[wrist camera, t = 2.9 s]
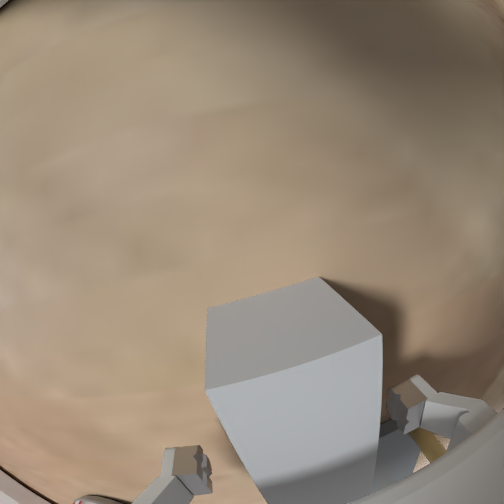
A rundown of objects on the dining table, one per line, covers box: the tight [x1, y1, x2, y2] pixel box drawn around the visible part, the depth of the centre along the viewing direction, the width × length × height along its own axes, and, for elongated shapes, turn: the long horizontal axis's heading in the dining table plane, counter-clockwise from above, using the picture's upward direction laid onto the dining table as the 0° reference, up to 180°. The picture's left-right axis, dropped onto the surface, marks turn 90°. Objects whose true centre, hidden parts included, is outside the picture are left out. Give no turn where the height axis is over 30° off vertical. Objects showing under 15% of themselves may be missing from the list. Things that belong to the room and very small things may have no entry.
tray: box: [344, 419, 447, 504], centre depth 13 cm, size 15×10×5 cm, turn 14°
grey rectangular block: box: [205, 277, 383, 504], centre depth 10 cm, size 10×4×5 cm, turn 14°
